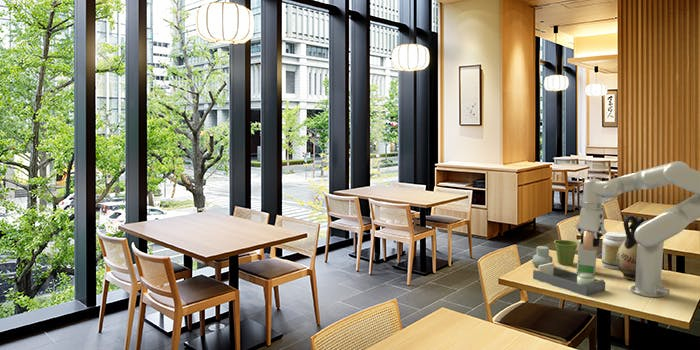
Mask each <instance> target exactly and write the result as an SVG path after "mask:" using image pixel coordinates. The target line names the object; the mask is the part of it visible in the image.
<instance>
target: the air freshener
mask: <svg viewBox="0 0 700 350" xmlns="http://www.w3.org/2000/svg"><path fill="white" fill-rule="evenodd" d="M553 260H554V259H553V257H552V256H551V255H550V248H549V247H548V246H545V245H538V246H536V254H534V255H533V256H532V260H531V263H532V265H534V266H535V267H538V266H539V265H544V264H548V263H553Z"/></svg>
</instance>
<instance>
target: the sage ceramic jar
mask: <svg viewBox="0 0 700 350" xmlns="http://www.w3.org/2000/svg"><path fill="white" fill-rule="evenodd" d="M578 274H579V275H577V283H579V284H582V285H585V286H586V283H590V282H594V281H595V279H596V278H595V276H594V275H592V274H587V273H578Z"/></svg>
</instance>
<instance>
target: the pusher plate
mask: <svg viewBox="0 0 700 350" xmlns="http://www.w3.org/2000/svg"><path fill="white" fill-rule="evenodd" d="M554 265H555V264H554V262H552V263H548V264H544V265H539V266H538V269H537V271H540V272H543V273H546V274H550V275H553V269H554V267H555V266H554Z"/></svg>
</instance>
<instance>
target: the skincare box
mask: <svg viewBox="0 0 700 350" xmlns="http://www.w3.org/2000/svg"><path fill="white" fill-rule="evenodd" d="M597 252H598V247H596V250H595V251H590V250H585V249H583V244H581V238H580V239H579V240H578V245H577V261H576V262H577V263H576V264H577V265H576V273H577V274H580V273H587V274H591V275H593V276H594V275H596V269H597V268H596V265H597V264H596V263H597Z"/></svg>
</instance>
